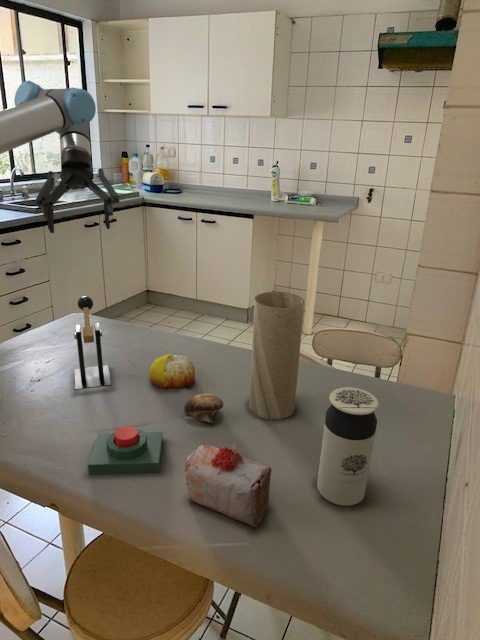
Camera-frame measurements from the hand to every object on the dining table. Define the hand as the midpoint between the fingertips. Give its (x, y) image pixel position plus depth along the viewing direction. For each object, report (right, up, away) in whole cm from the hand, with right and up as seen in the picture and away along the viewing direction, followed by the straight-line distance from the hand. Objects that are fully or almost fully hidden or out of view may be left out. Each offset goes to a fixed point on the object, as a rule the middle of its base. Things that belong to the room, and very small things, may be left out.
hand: (79, 228), depth 115 cm
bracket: (+5, -37, -6) cm, 38 cm away
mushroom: (+32, -44, -18) cm, 57 cm away
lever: (+4, -24, -6) cm, 25 cm away
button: (+20, -45, -32) cm, 58 cm away
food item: (+38, -53, -40) cm, 76 cm away
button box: (+19, -48, -30) cm, 60 cm away
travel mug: (+57, -52, -36) cm, 85 cm away
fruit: (+24, -38, -5) cm, 45 cm away
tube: (+47, -42, -13) cm, 64 cm away
